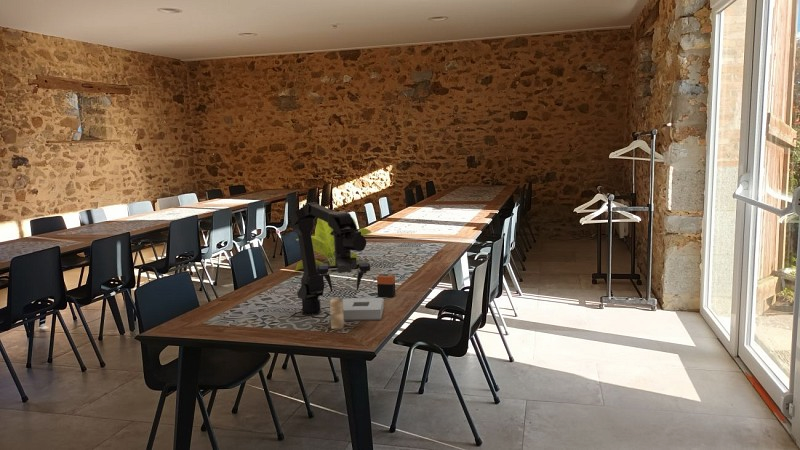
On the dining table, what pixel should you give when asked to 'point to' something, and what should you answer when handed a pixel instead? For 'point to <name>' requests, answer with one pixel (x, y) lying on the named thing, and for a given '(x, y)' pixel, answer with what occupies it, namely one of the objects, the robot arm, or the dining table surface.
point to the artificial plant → (326, 242)
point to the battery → (386, 285)
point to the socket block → (363, 309)
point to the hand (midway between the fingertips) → (344, 290)
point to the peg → (336, 313)
